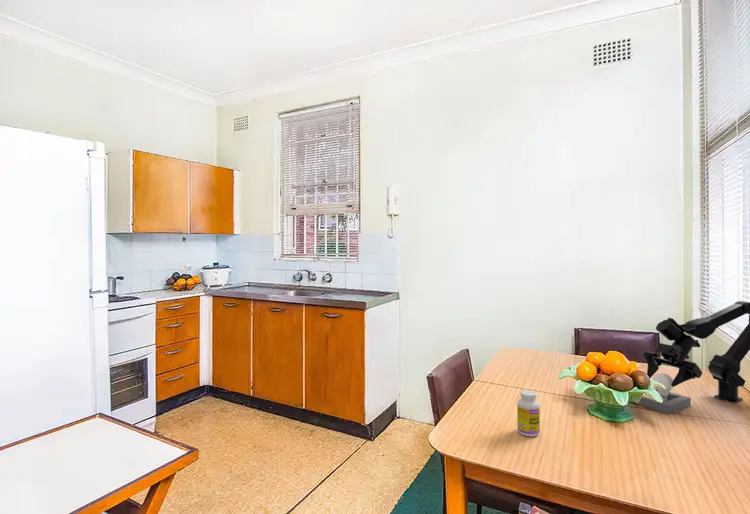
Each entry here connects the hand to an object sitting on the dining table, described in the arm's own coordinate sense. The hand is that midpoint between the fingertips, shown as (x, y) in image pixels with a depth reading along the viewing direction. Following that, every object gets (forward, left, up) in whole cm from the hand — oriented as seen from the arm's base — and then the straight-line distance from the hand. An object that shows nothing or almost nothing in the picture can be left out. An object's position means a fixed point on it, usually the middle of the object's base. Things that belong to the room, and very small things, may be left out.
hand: (659, 382), depth 151 cm
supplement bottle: (+59, -8, -8) cm, 60 cm away
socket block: (-1, 0, -8) cm, 8 cm away
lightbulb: (-1, 0, -8) cm, 8 cm away
